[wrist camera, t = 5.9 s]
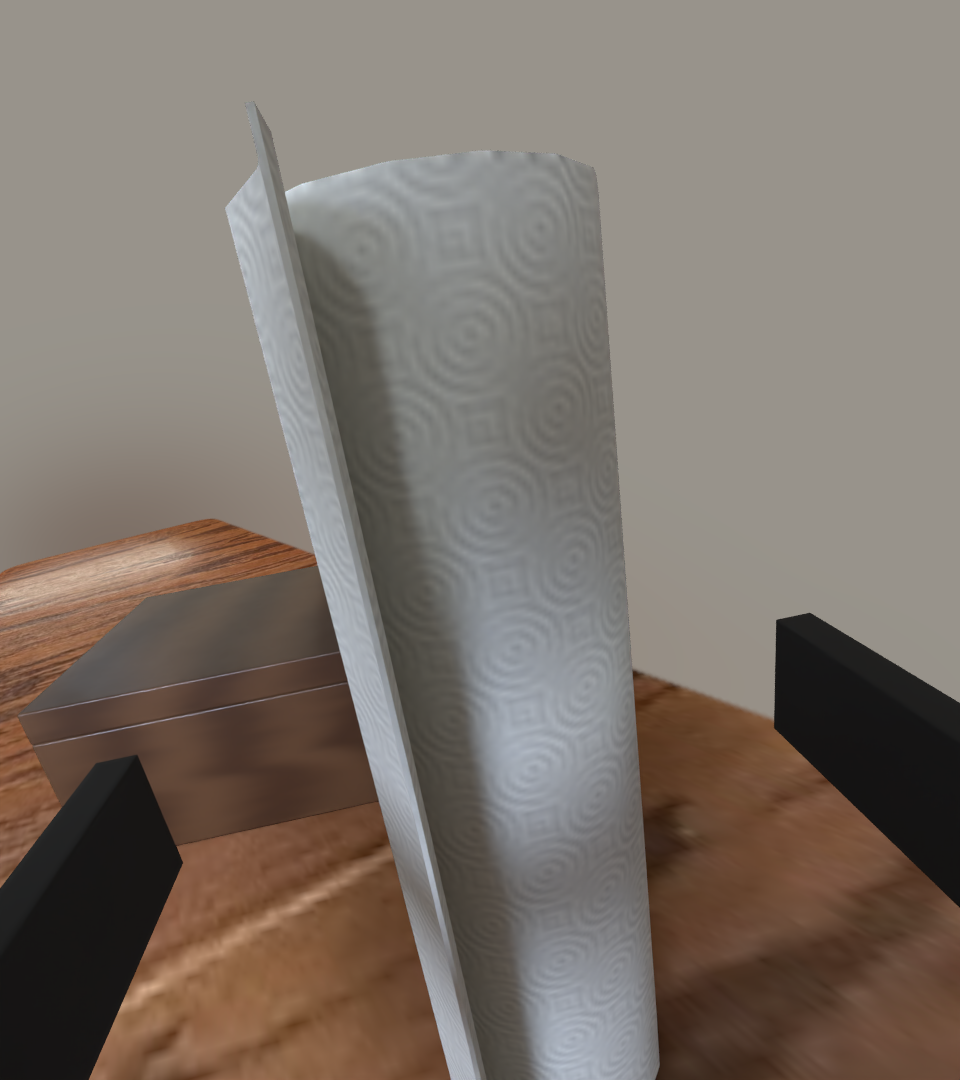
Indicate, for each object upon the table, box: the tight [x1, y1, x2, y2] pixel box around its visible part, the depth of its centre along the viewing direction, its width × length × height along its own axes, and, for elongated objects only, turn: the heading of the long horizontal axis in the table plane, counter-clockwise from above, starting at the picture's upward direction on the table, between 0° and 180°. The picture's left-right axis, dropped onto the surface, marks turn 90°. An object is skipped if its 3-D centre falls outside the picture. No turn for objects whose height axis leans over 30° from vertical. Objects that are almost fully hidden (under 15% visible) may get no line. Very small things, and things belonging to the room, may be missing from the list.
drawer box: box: [18, 566, 379, 846], centre depth 30 cm, size 16×12×8 cm
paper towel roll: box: [225, 101, 660, 1080], centre depth 12 cm, size 7×6×21 cm
